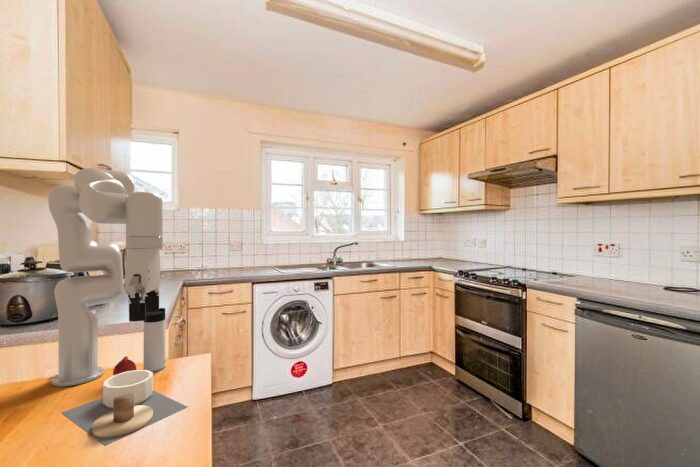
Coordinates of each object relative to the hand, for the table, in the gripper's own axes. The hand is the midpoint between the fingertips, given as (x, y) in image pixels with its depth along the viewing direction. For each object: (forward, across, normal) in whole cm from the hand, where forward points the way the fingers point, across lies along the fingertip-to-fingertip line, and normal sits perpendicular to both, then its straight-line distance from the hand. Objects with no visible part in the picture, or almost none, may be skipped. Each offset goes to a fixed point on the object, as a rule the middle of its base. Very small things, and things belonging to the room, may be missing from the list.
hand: (145, 316), depth 79 cm
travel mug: (+25, -34, -8) cm, 43 cm away
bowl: (+25, -14, -8) cm, 30 cm away
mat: (+26, -8, -7) cm, 28 cm away
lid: (+25, -1, -5) cm, 26 cm away
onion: (+25, -26, -14) cm, 39 cm away
